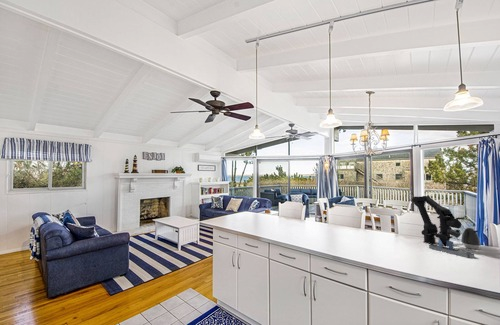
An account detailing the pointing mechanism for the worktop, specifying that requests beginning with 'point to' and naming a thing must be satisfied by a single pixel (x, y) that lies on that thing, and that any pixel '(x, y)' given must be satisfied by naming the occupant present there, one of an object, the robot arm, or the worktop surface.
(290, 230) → the worktop surface
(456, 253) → the rail
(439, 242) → the blue notched pillar
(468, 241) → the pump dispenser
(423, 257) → the worktop surface
